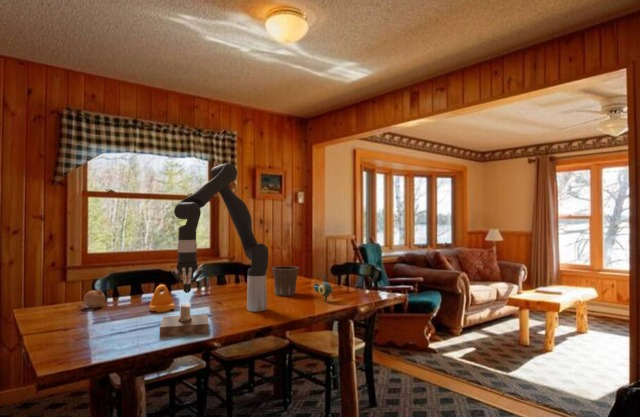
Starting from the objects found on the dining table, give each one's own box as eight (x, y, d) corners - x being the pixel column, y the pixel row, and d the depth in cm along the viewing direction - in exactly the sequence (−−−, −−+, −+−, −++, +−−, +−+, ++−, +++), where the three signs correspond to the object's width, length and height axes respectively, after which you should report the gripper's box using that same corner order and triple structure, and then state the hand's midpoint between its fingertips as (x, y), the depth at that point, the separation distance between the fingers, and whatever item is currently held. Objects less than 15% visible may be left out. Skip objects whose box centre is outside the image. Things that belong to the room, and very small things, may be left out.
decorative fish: (319, 305, 215) (327, 304, 219) (329, 291, 209) (337, 290, 213) (308, 286, 223) (317, 285, 226) (318, 272, 216) (326, 271, 220)
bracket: (151, 312, 189) (151, 287, 189) (149, 309, 195) (149, 285, 196) (174, 310, 194) (175, 286, 195) (172, 307, 201) (172, 283, 201)
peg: (190, 328, 164) (190, 304, 164) (189, 330, 160) (190, 306, 160) (180, 329, 162) (180, 304, 163) (180, 331, 159) (180, 306, 159)
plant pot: (288, 290, 247) (288, 265, 247) (304, 294, 235) (304, 267, 235) (266, 293, 237) (266, 267, 237) (281, 298, 224) (281, 270, 225)
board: (207, 323, 172) (207, 314, 172) (208, 333, 156) (208, 323, 156) (163, 326, 166) (163, 316, 166) (159, 337, 151) (159, 327, 151)
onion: (102, 313, 200) (112, 295, 201) (85, 311, 192) (96, 293, 193) (93, 304, 205) (102, 286, 206) (76, 302, 197) (86, 284, 197)
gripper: (203, 249, 168) (203, 290, 168) (170, 250, 164) (170, 291, 164) (204, 251, 161) (204, 293, 161) (169, 252, 157) (169, 295, 157)
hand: (187, 292), depth 162 cm, fingers closed
